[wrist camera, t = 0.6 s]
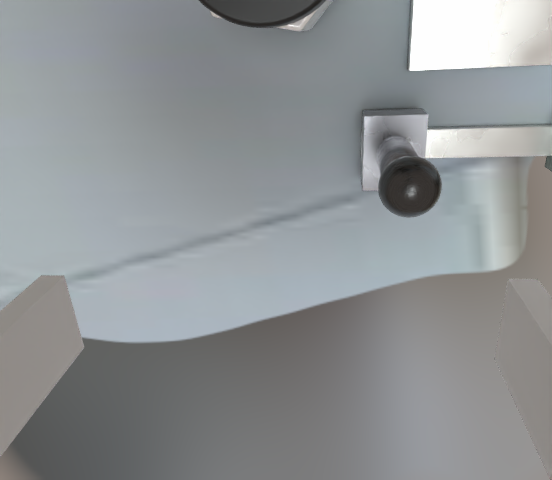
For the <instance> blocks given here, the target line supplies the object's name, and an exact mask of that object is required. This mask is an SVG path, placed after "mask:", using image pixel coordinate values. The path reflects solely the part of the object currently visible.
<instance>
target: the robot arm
mask: <svg viewBox="0 0 552 480" xmlns="http://www.w3.org/2000/svg"><path fill="white" fill-rule="evenodd" d="M83 348H84V345H83V341H82V338H81V334H80V331H79V327H78V323H77V320H76V316H75V313H74V309H73V306H72V302H71V298H70V295H69V291H68V288H67V284H66V281H65V277H64V276H50V275H41V276H40V277H39V278H38V279H37V280H36V281H34V282H33V283H32V284H31V285H30V286H29V287H28V288H26V289H25V290H24V291H23V292H22V293H21V294H19V295H18V296H17V297H16V298H15V299H14V300H13V301H11V302H10V303H9V304H8V305H7V306H6V307H5V308H3V309H2V310H1V311H0V457H1V455H2V454H3V453H4V451H5V450H6V449H7V447H8V446H9V445H10V443H11V442H12V441H13V440H14V438H15V437H16V436H17V434H18V433H19V432H20V430H21V429H22V428H23V426H24V425H25V424H26V423H27V421H28V420H29V419H30V417H31V416H32V415H33V413H34V412H35V411H36V410H37V408H38V407H39V406H40V404H41V403H42V402H43V400H44V399H45V398H46V397H47V395H48V394H49V392H50V391H51V390H52V389H53V387H54V386H55V385H56V383H57V382H58V381H59V380H60V378H61V377H62V376H63V374H64V373H65V372H66V370H67V369H68V368H69V366H70V365H71V364H72V362H73V361H74V360H75V358H76V357H77V356H78V355H79V353H80V352H81V351H82V349H83ZM494 359H495V361H496V363H497V366H498V368H499V370H500V372H501V374H502V376H503V379H504V381H505V383H506V385H507V387H508V389H509V391H510V394H511V396H512V398H513V400H514V402H515V405H516V407H517V409H518V411H519V413H520V415H521V417H522V420H523V422H524V424H525V426H526V428H527V431H528V432H529V435H530V437H531V439H532V441H533V443H534V446H535V448H536V450H537V452H538V454H539V456H540V459H541V461H542V463H543V465H544V467H545V469H546V472H547V474H548V476H549V478H550V480H552V297H551V296H550V295H549V293H548V292H547V291H546V290H545V288H544V287H543V286H542V284H541V283H540V282H539V280H538V279H508V283H507V288H506V294H505V300H504V306H503V312H502V317H501V324H500V329H499V335H498V341H497V347H496V353H495V358H494Z"/></svg>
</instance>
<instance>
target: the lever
mask: <svg viewBox="0 0 552 480" xmlns="http://www.w3.org/2000/svg"><path fill="white" fill-rule="evenodd" d="M427 128H428V114H427V113H426V112H425V111H424V110H423V109H399V110H368V111H363V113H362V155H361V184H362V191H378V193H379V197H380V199H381V201H382V203H383V205H384V206H385V207H386V208H387V209H388V210H389V211H390V212H392V213H394V214H396V215H398V216H402V217H416V216H420V215H422V214H424V213H426V212H428V211H429V210H430V209H431V208H432V207H433V206H434V205H435V204H436V202H437V201H438V199H439V197H440V193H441V185H442V184H441V178H440V175H439V173H438V171H437V169H436V168H435V167H434V165H433V164H431V163H430V162H429V161H427V160H426V159H425V153H426V141H427Z"/></svg>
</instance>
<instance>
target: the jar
mask: <svg viewBox="0 0 552 480" xmlns="http://www.w3.org/2000/svg"><path fill="white" fill-rule="evenodd" d="M199 1H200V2H201V3H202V4H203V5H204V6H205V7H207V8H208V9H209V10H210V12H211V14H212V16H214V17H216V18H222V19H225V20H227V21H230V22H232V23H235V24H238V25H242V26H247V27H256V28H273V27H276V28H282V29H287V30H293V31H309V30H311V29H312V28H313V26H314V25H315V24H316V22H317V21H318V20H319V18H320V17H321V16H322V14H323V13H324V12H325V10H326V9H327V8H328V7H329V5H330V4H331V3H332V1H333V0H199Z"/></svg>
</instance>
